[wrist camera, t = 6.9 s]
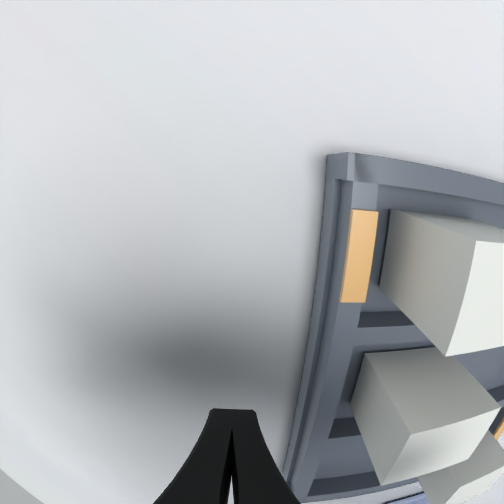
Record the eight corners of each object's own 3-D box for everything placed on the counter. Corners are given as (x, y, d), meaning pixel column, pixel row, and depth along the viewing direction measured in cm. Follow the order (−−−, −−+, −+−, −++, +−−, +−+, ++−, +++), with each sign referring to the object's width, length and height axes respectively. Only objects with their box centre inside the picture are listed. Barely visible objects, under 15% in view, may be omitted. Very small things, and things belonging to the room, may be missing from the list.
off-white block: (425, 395, 12) (467, 459, 8) (349, 405, 12) (380, 485, 7) (444, 345, 11) (501, 407, 7) (364, 353, 11) (411, 434, 7)
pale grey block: (458, 444, 14) (487, 491, 9) (408, 459, 13) (434, 514, 9) (476, 414, 13) (512, 461, 8) (426, 428, 13) (459, 487, 8)
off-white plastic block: (461, 287, 10) (533, 338, 6) (379, 288, 10) (445, 356, 6) (474, 219, 10) (558, 249, 5) (390, 209, 10) (476, 240, 5)
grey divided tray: (467, 437, 15) (482, 459, 13) (282, 472, 15) (286, 506, 12) (549, 201, 11) (581, 209, 8) (327, 154, 10) (350, 152, 8)
